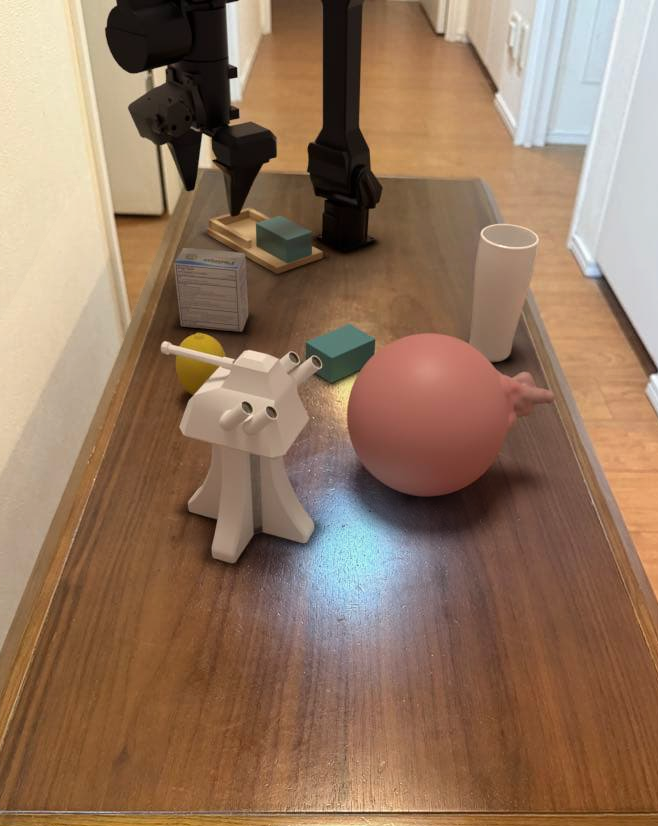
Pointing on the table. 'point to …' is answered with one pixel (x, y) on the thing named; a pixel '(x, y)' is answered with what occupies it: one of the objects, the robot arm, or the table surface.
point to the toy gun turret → (248, 446)
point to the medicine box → (212, 289)
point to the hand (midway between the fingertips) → (211, 202)
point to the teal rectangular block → (341, 352)
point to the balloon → (434, 413)
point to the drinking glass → (500, 287)
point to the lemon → (197, 362)
